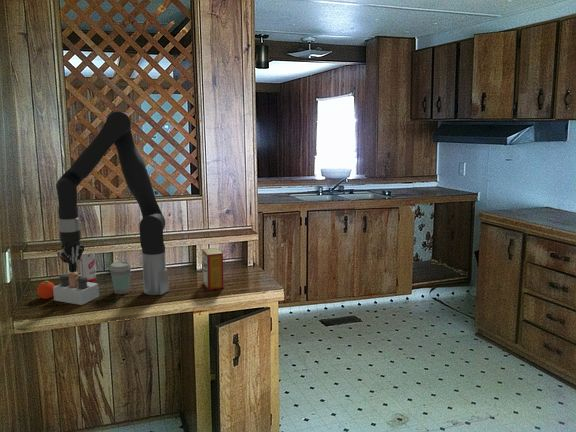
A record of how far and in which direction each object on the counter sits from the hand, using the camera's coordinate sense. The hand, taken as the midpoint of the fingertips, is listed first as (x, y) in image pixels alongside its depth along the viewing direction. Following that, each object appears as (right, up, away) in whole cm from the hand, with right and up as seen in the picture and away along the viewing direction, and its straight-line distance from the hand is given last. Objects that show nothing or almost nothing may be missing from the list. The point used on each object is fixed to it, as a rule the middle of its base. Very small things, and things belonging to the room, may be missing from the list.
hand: (73, 271), depth 207 cm
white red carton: (-2, -7, +23) cm, 24 cm away
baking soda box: (+52, -8, +20) cm, 57 cm away
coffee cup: (+16, -10, +12) cm, 22 cm away
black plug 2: (+4, -10, +1) cm, 11 cm away
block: (0, -11, +3) cm, 12 cm away
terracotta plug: (0, -8, +2) cm, 8 cm away
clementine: (-12, -11, +4) cm, 17 cm away
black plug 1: (-4, -9, +4) cm, 11 cm away
